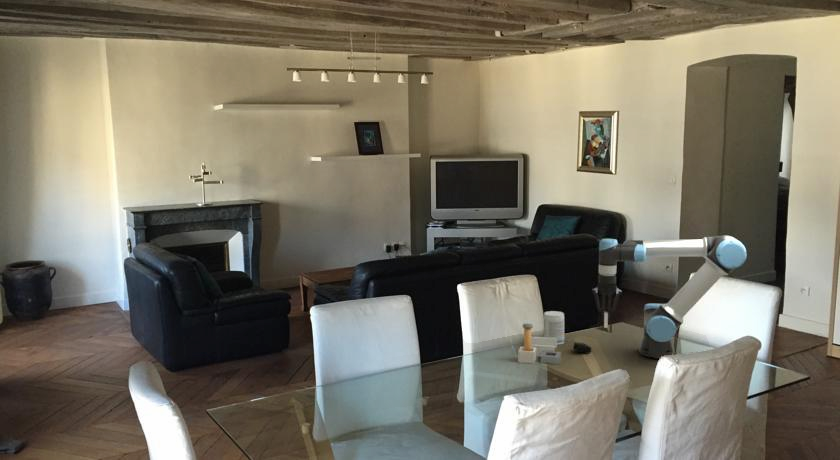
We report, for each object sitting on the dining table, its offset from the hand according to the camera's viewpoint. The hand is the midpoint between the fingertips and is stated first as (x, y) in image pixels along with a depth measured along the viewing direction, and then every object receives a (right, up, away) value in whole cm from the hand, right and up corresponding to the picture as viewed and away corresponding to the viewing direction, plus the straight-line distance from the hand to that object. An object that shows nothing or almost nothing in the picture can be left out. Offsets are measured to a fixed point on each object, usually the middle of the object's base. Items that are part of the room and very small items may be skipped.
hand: (605, 326), depth 317 cm
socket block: (-35, -14, -3) cm, 38 cm away
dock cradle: (-27, -13, +9) cm, 31 cm away
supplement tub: (-19, -11, +22) cm, 31 cm away
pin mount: (-25, -14, -4) cm, 29 cm away
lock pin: (-35, -14, -4) cm, 38 cm away
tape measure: (-10, -13, +4) cm, 17 cm away
